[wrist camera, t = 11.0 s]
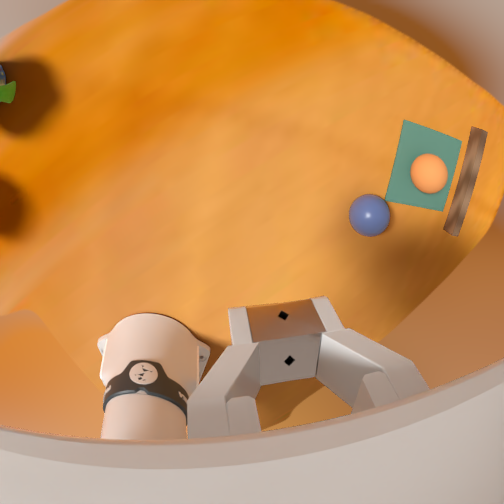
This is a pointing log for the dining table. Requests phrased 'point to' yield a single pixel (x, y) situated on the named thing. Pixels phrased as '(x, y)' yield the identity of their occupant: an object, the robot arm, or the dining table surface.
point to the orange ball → (429, 173)
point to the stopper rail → (466, 181)
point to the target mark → (409, 148)
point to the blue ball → (369, 215)
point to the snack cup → (6, 88)
